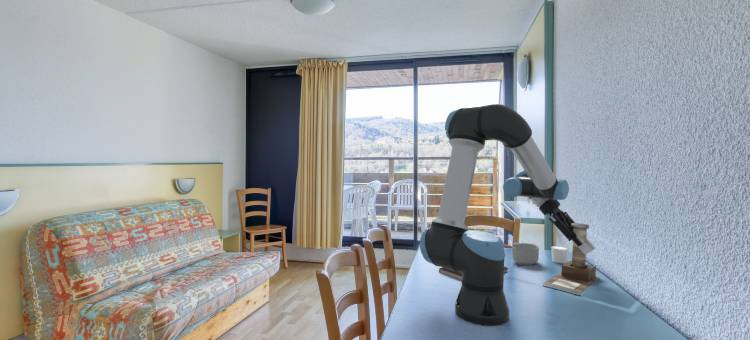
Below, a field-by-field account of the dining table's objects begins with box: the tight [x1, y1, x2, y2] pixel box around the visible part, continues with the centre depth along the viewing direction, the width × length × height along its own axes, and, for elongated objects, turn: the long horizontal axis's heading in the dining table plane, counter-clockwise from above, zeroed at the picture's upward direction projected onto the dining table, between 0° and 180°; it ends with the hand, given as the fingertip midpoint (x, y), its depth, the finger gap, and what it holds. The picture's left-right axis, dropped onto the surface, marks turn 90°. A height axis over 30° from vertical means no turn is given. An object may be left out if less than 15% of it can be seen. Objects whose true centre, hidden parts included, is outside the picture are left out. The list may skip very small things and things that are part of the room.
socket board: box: [542, 260, 601, 297], centre depth 130 cm, size 23×12×5 cm, turn 133°
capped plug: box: [571, 222, 590, 268], centre depth 134 cm, size 6×6×16 cm
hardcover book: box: [438, 266, 510, 281], centre depth 141 cm, size 16×23×2 cm
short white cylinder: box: [550, 245, 570, 264], centre depth 154 cm, size 7×7×7 cm
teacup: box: [511, 242, 540, 267], centre depth 154 cm, size 14×11×8 cm
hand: (590, 251), depth 131 cm, fingers closed on capped plug, 4 cm apart
